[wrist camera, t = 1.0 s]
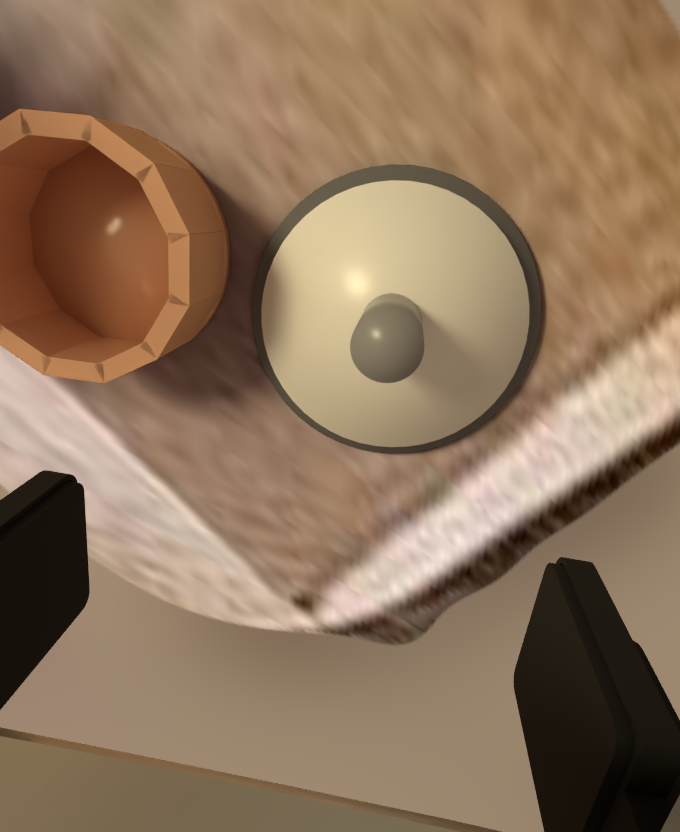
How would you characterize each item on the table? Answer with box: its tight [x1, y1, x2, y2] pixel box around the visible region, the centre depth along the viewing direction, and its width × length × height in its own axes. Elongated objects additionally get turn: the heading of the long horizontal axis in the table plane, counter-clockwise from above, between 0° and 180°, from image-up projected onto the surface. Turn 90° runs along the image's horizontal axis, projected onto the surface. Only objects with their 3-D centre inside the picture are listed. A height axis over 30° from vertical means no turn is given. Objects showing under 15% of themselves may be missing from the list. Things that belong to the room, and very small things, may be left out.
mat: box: [252, 165, 541, 453], centre depth 28 cm, size 14×14×1 cm
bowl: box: [0, 109, 231, 383], centre depth 26 cm, size 11×11×6 cm
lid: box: [261, 180, 529, 447], centre depth 25 cm, size 13×13×6 cm
